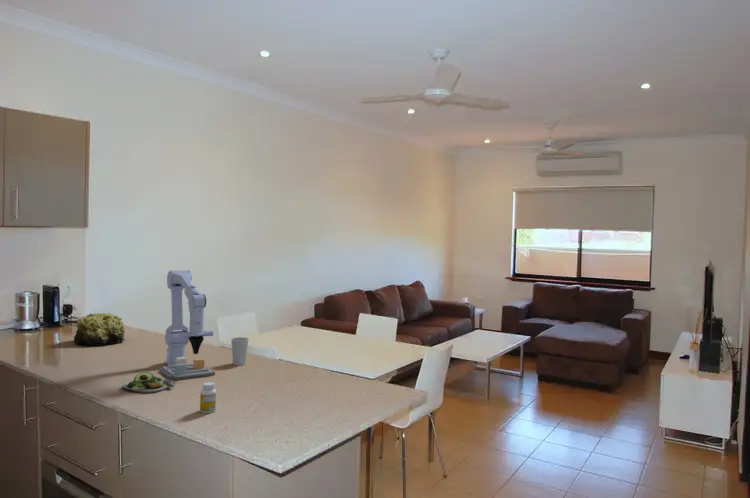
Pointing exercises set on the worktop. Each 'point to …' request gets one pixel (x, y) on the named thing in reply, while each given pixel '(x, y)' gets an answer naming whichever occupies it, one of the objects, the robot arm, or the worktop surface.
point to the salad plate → (147, 383)
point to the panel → (191, 373)
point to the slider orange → (198, 363)
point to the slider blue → (180, 369)
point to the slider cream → (181, 360)
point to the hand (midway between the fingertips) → (195, 353)
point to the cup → (239, 350)
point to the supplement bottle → (208, 398)
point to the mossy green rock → (99, 330)
